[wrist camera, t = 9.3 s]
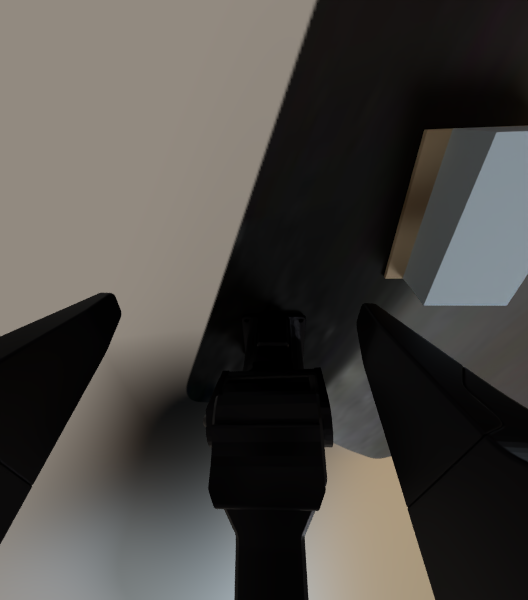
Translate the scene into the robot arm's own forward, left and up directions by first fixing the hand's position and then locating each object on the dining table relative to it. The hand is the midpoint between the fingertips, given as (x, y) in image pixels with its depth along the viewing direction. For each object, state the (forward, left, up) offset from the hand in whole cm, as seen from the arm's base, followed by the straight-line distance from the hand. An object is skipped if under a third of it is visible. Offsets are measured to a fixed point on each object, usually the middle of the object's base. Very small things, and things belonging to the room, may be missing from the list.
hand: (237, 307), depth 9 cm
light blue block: (-1, -15, -13) cm, 20 cm away
